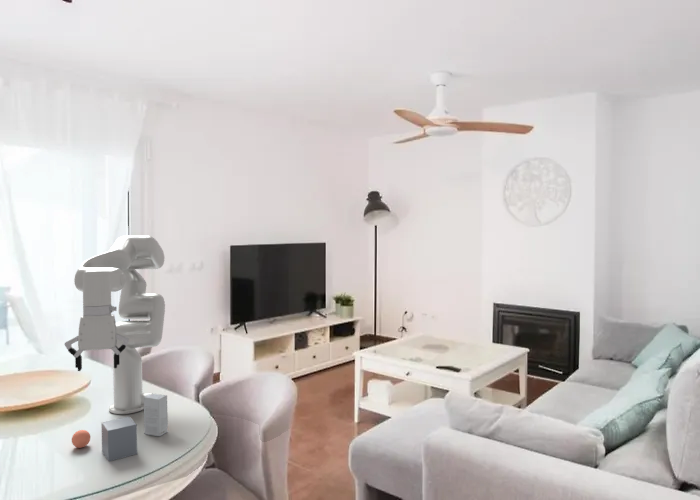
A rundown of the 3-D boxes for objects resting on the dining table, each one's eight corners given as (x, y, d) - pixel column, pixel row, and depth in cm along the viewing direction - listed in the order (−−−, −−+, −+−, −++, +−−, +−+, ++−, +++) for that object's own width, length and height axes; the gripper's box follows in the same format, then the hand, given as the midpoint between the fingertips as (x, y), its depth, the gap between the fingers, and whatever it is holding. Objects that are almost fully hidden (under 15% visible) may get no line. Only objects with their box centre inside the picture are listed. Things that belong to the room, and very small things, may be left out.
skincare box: (168, 431, 167) (167, 395, 166) (159, 437, 163) (158, 399, 162) (152, 429, 169) (152, 392, 168) (143, 434, 165) (143, 397, 164)
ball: (88, 441, 159) (88, 425, 159) (92, 447, 155) (91, 431, 155) (70, 446, 156) (69, 429, 156) (73, 452, 152) (73, 435, 152)
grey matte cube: (129, 444, 157) (129, 416, 157) (137, 454, 151) (136, 424, 150) (102, 451, 152) (101, 422, 152) (108, 461, 146) (107, 430, 146)
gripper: (129, 308, 161) (130, 363, 161) (66, 311, 155) (67, 368, 155) (128, 311, 154) (128, 369, 154) (62, 314, 148) (62, 374, 148)
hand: (97, 368), depth 155 cm, fingers open, 9 cm apart
